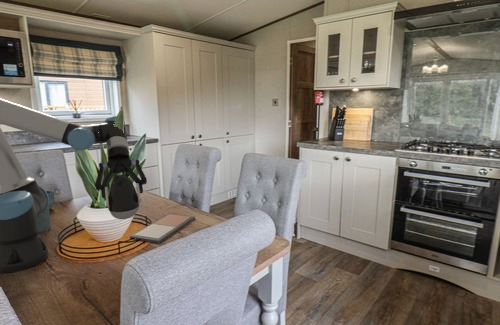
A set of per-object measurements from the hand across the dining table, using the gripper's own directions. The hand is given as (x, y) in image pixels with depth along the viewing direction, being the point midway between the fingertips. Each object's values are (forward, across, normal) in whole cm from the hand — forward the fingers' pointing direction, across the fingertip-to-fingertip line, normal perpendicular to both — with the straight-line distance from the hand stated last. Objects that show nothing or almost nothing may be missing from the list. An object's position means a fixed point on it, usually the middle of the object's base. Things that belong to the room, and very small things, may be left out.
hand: (124, 203), depth 105 cm
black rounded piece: (+2, 0, -6) cm, 7 cm away
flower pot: (-38, +38, -65) cm, 84 cm away
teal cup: (-16, +35, -43) cm, 58 cm away
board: (+1, -15, -26) cm, 30 cm away
